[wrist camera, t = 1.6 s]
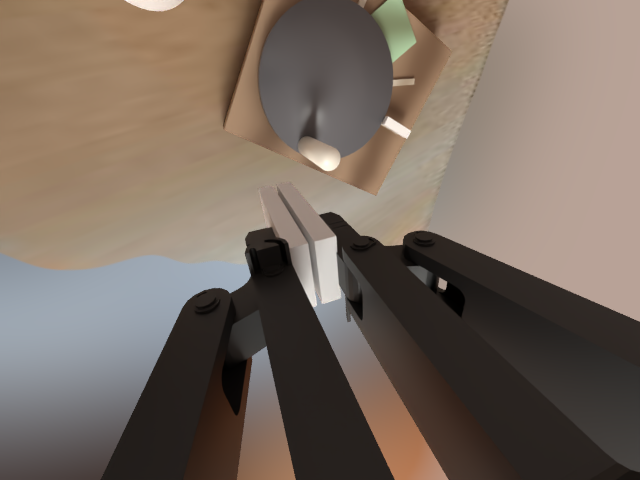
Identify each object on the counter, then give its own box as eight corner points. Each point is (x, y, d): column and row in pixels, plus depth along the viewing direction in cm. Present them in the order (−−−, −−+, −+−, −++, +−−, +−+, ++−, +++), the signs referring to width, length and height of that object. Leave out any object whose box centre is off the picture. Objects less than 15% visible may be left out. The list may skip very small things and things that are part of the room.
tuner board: (223, 126, 30) (224, 130, 26) (285, -77, 24) (298, -107, 21) (362, 186, 39) (377, 196, 35) (431, 51, 33) (456, 46, 30)
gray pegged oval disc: (237, 124, 26) (244, 135, 20) (292, -43, 22) (324, -102, 15) (372, 185, 35) (409, 207, 28) (431, 72, 30) (492, 66, 24)
